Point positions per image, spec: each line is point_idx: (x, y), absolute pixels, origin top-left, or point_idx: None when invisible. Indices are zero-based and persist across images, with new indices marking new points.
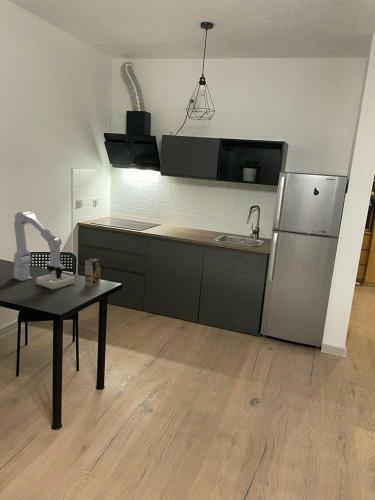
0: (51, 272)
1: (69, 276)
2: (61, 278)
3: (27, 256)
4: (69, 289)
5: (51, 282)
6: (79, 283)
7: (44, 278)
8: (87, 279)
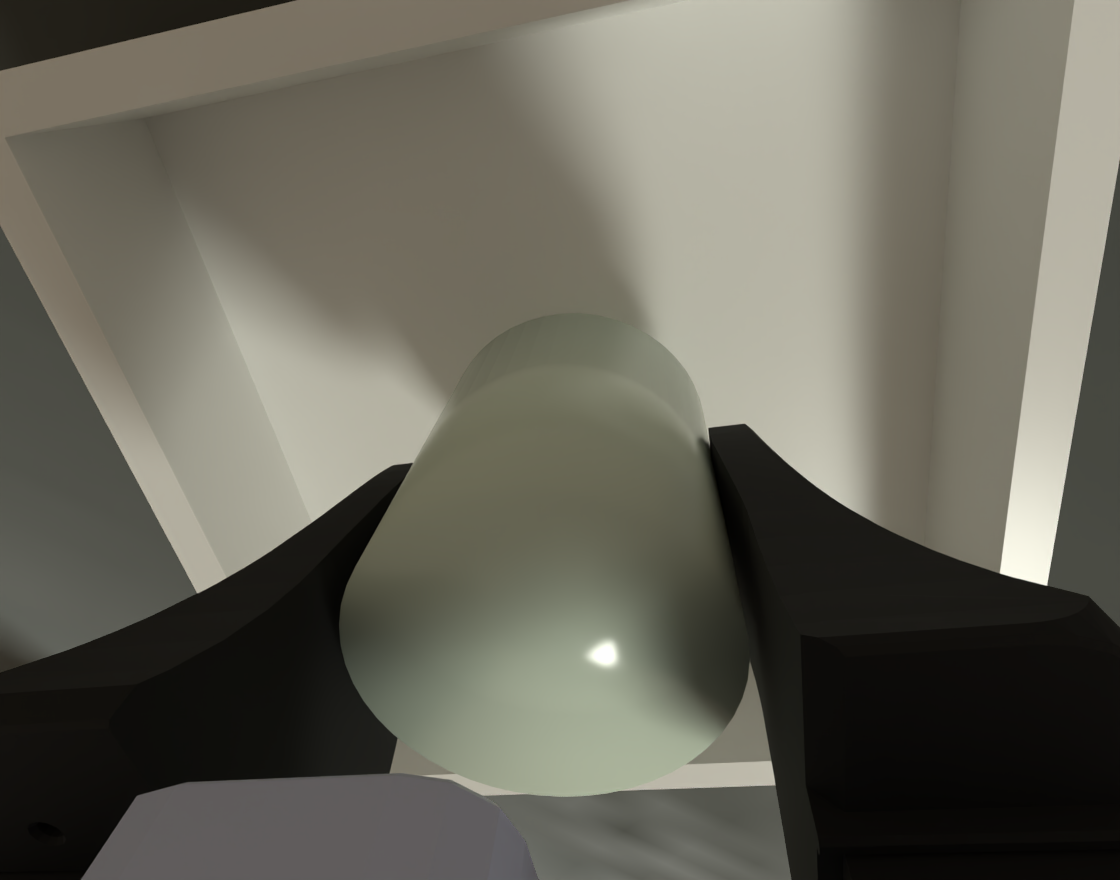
0: (518, 478)
1: (445, 775)
2: None
3: None
4: (16, 425)
5: (87, 95)
6: None
7: (990, 247)
8: None
